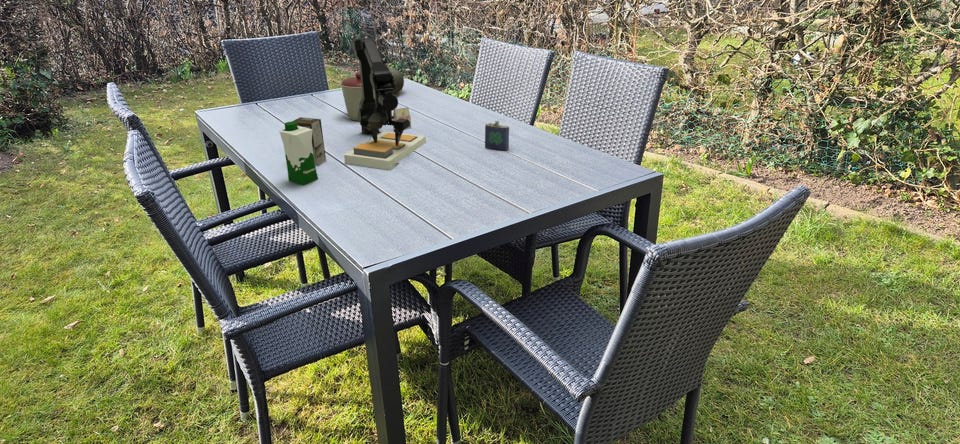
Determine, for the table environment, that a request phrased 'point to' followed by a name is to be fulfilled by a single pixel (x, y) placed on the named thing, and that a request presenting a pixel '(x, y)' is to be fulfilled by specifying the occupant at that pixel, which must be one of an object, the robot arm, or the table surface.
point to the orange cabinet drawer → (403, 138)
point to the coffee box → (314, 137)
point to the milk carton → (299, 153)
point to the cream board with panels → (389, 161)
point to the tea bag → (402, 115)
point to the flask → (496, 137)
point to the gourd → (396, 80)
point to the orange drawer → (389, 144)
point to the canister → (352, 95)
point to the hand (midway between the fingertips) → (386, 143)
